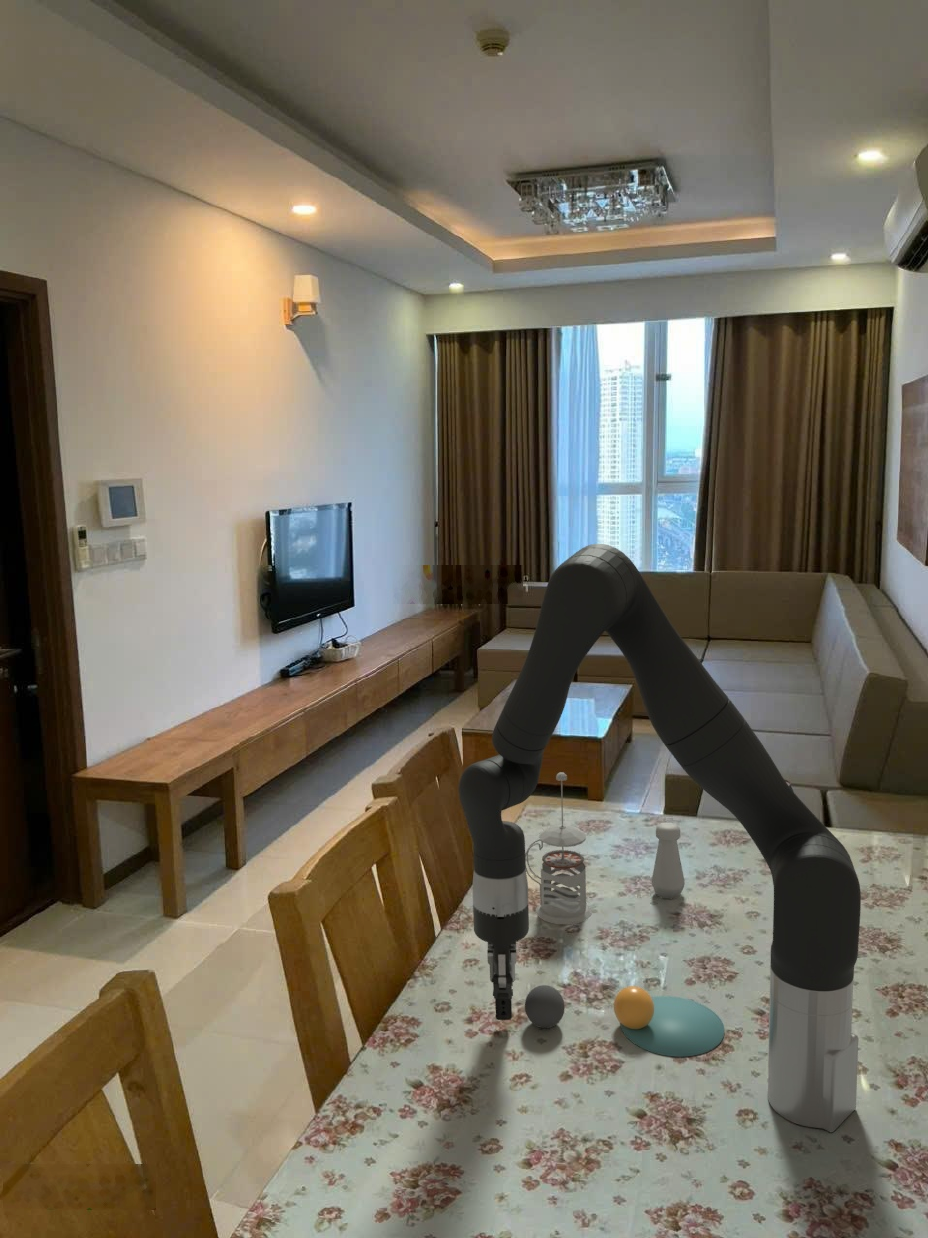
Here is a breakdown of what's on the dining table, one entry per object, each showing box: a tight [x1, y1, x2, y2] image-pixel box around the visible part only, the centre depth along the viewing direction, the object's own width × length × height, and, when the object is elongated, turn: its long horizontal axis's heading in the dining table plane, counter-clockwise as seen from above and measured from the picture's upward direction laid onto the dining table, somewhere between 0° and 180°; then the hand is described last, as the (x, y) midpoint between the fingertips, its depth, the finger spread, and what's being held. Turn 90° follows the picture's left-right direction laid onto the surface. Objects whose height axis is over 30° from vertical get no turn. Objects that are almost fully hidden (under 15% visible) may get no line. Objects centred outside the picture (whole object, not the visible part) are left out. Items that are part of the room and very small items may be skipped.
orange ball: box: [613, 985, 654, 1029], centre depth 132 cm, size 6×6×6 cm
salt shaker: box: [651, 822, 686, 900], centre depth 171 cm, size 6×6×13 cm
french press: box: [525, 771, 593, 925], centre depth 165 cm, size 10×12×25 cm
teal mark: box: [619, 995, 725, 1058], centre depth 133 cm, size 14×14×1 cm
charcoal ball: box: [524, 984, 566, 1029], centre depth 133 cm, size 6×6×6 cm
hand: (503, 1017), depth 133 cm, fingers closed
